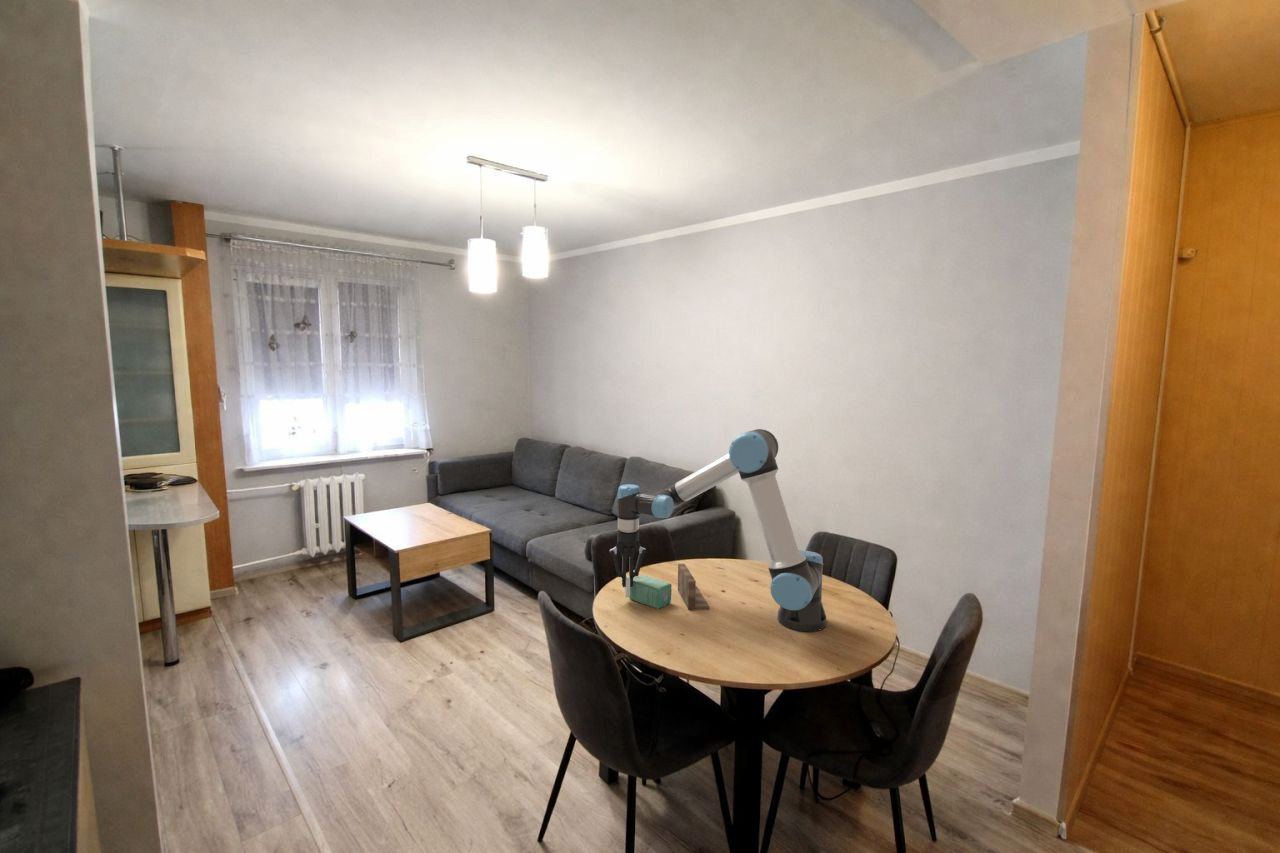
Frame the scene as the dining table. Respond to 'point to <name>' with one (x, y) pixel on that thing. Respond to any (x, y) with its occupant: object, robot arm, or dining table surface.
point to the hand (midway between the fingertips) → (627, 595)
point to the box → (650, 591)
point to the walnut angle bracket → (690, 590)
